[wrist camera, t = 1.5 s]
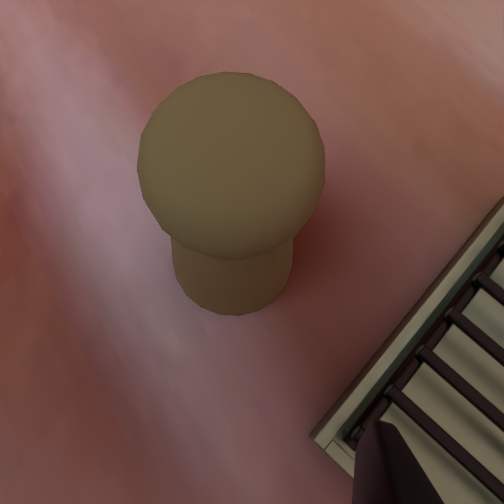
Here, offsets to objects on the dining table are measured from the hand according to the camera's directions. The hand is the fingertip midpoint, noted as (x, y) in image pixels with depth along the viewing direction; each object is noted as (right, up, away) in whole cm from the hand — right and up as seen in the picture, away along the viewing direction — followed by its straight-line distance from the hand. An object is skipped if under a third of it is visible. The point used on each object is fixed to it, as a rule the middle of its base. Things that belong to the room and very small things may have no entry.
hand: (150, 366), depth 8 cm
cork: (+1, +2, +12) cm, 13 cm away
